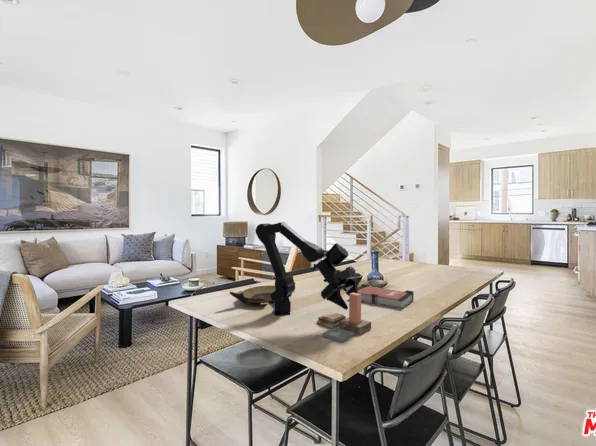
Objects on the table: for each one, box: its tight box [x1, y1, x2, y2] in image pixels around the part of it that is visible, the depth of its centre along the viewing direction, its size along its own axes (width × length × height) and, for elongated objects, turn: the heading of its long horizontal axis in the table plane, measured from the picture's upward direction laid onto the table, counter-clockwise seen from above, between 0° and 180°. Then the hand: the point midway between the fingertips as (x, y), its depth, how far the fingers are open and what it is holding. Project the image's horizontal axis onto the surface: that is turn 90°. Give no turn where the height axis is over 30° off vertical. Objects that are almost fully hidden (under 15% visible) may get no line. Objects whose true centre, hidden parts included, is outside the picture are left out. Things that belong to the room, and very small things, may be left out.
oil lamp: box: [229, 285, 276, 304], centre depth 158 cm, size 22×30×8 cm
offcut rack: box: [316, 311, 372, 335], centre depth 126 cm, size 19×10×3 cm, turn 49°
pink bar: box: [348, 293, 362, 325], centre depth 122 cm, size 4×2×13 cm
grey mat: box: [322, 327, 355, 343], centre depth 115 cm, size 8×8×1 cm
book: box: [357, 283, 415, 309], centre depth 162 cm, size 26×18×5 cm
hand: (354, 306), depth 123 cm, fingers open, 9 cm apart
